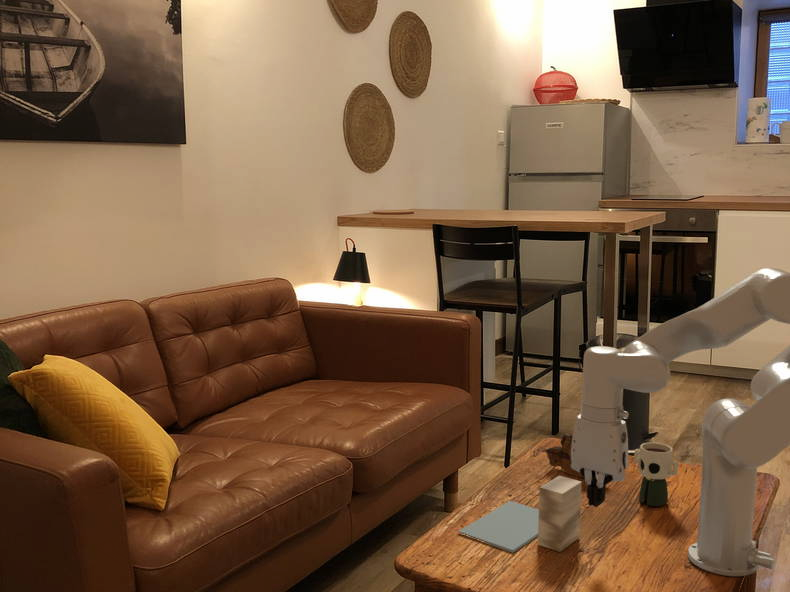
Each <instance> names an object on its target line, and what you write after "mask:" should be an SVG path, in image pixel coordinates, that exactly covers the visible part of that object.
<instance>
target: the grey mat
mask: <svg viewBox="0 0 790 592" xmlns="http://www.w3.org/2000/svg"><path fill="white" fill-rule="evenodd" d="M538 520H539V508H535V507H531V506H529V505H525V504H522V503H519V502H515V501H513V500H512V501H511V500H509V501H507V502H506V503H504V504H502V505H500V506H499V507H496V508H495V509H493V510H492V511H490V512H488V513H487V514H485V515H483V516H481V517H480V518H479V519H477V520H475V521H473V522H471V523H469V524H468V525H466V526H464V527H463V528H461V529H459V530H458V532H460V533H462V534H465V535H468V536H470V537H473V538H476V539H479V540H481V541H484V542H486V543H488V544H487V545H489V544H490V545H489V546H491V545H493V546H492V547H494V546H495V547H494V548H497V547H498V548H497V549H501V550H502V551H506V552H509V553H512V554H514V553H516V552H517V551H519V550H520V549H521V548H523V547H524V546H526V545H527V544H528V543H530V542H532V541H533V540H535V538H538ZM458 532H457V533H458ZM486 543H485V544H486Z"/></svg>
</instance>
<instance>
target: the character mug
mask: <svg viewBox="0 0 790 592" xmlns="http://www.w3.org/2000/svg"><path fill="white" fill-rule="evenodd" d="M673 455H674V449H673V447H671V446H670V445H668V444H665V443H661V442H644V443H642V444H640V446H639V449H638V448H637V449H636V448H635V450H634V456H633V458H634V462H635V464H637V469H638V472H639V473H640V475H641V476H642V479H641V484H640V488H639V494H638V501H639V502H641V503H642V504H644V503H645V501H646V505H648V506H652V507H661V506H662V507H663V506H664V505H666V504H667V503H668V502H669V492H668V483H667V480H666V479H669V478H670V477H672V476H674V477H677V474H678V473H679V472H678V470H679V469H678V468H679V463H678V462H677V461H675V460H674V459H673Z"/></svg>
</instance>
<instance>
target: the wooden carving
mask: <svg viewBox="0 0 790 592" xmlns="http://www.w3.org/2000/svg"><path fill="white" fill-rule="evenodd" d="M572 438H573V434H571V435H570V434H569V433H565V434H563V436H562V438H561V440H560V445H561V446H560V445H554V446H553V447H551V446H550V447H549V448H547V449H545V453H546V455H547V458H548V463H549V465H550V466H551V467H554V468H555V467H560V468H561V470H563V471H564V472H565V473H568V475H571V476H575V477H580V478H584V477H583V476H582V475H581V473H580V472H578V471H576V470H574V469H572V468H571V463H572V462H571V445H572ZM597 475H599V472H597Z"/></svg>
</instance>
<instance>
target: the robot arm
mask: <svg viewBox="0 0 790 592" xmlns="http://www.w3.org/2000/svg"><path fill="white" fill-rule="evenodd" d="M770 320H773V321H775V322H779V323H782V324H787V325H790V272H788V271H785V270H782V269H780V268H775V267H765V268H761V269H759V270H757V271H755V272H753V273H752V274H749V275H748V276H747V277H745V278H743V279H741V280H740V281H738V282H736V283H735V284H733V285H732V286H731V287H729V288H727V289H726V290H725V291H723V292H721V293H720V294H718V295H716V296H715V297H713V298H712V299H710V300H709V301H707V302H705V303H704V304H702V305H700V306H698V307H697V308H694V309H693V310H689V311H687V312H685V313H683V314H680V315H679V316H676V317H673V318H672V319H669V320H667V321H665V322H663V323H660V324H659V325H656V326H654V327H653V328H652V329H650V330H648V331H647V332H644V334H642V335H641V336H639V337H637V338H636V339H635V340H633V341H631V343H629V344H628V345H627V346H626V347H625V348H624V349H623V350H622V349H618V348H616V347H612V346H602V345H601V346H600V345H599V346H597V345H596V346H591V347H589V348H587V349H586V350H585V351H584V354H583V363H582V364H583V365H582V367H583V368H582V380H581V381H582V385H581V402H580V413H579V415H577V418H576V420H575V424H574V429H573V434H572V435H573V438H572V445H571V462H572V463H571V468H572V469H574V470H576V471H578V472H580V473H581V475H582V476H583V477H582V478H583V479H584V482H585V484H586V485H587V492H586V498H587V499H588V504H587V505H588V506H590V507H591V506H593V507H595V508H597V507H598V506H600V505H602V504H603V503H604V502H605V499H606V489H607V486H606V485H608V484H609V483H611V482H616V483H617V482H623V481H625V479H626V473H625V470H627V469H628V466H629V438H628V429H627V424H626V423H627V421H625V420H623V419H626V420H627V419H628V418H629V415H630V414H629V411H625V410H624V405H623V401H624V399H623V397H624V389H625V390H630V391H635V392H640V393H644V394H647V393H648V394H652V393H656V392H659V391H661V390H663V389H664V388H666V386H668V384H669V381H670V379H671V369H670V367H669V364H670V363H671V362H673V361H674V360H676V359H678V358H680V357H682V356H684V355H686V354H689V353H692V352H696V351H700V350H713V349H719V348H724V347H728V346H729V345H731V344H733V343H734V342H735V341H737V340H739V339H740V338H743V336H746V335H747V334H749V333H750V332H751V331H753V330H755V329H756V328H758V327H760V326H761V325H763V324H765V323H767V322H768V321H770ZM750 392H751V393H750V394H751V396H752V397H753V399H754V400H755V402H754V403H753V404H752V405H749V404H747V403H745V402H744V401H742V400H739V399H736V398H729V397H728V398H722V399H718V400H716V401H715V402H713V403H712V404H711V405H710V406H708V407H707V409H706V411H705V412H704V415H703V417H702V421H701V422H702V424H701V439H702V441H701V442H702V443H701V444H702V465H701V466H702V470H701V471H702V472H701V479H700V480H701V482H700V483H701V484H700V496H699V497H700V498H699V513H698V525H697V526H698V527H697V537H696V538H697V540H696V542H695V543H692V544H691V545H690V546H689V547H688V549H687V557H688V559H689V560H690V562H691V563H692V564H694V565H695V566H697V567H698V568H700V569H701V570H704V571H706V572H708V573H709V572H710V573H712V574H716V575H721V576H725V577H726V576H727V577H745V576H750V575H752V574H755V573H756V572H757V571H758V569H759V566H760V567H762V568H765V569H768V570H773V569H774V566H775V559H774V558H772V554H771V553H768V552H767V551H766V552H765V551H761V550H759V549H758V548H756V547H757V546H756V545H757V541H755V540H753V539H752V538H753V527H754V515H755V512H754V511H755V499H756V491H757V490H756V489H757V480H758V479H757V477H758V468H759V467H761V466H764V465H765V464H767V463H769V462H770V461H772V460H773V459H775V458H776V457H777V456H779V455H780V454H781V453H782V452H783V451H785V450H786V449H787V448H788V447H789V446H790V344H789V345H788V346H787V347H786V348H784V349H783V350H782V351H781V352H780V353H778V354H777V355H776V356H775V357H774V358H772V360H770V361H769V362H768V363H767V364H765V365H764V366H763V367H762V368H760V369H759V370H758V371H757V373H756V374H754V375H753V377H752V379H751V382H750ZM597 472H599V474H597Z"/></svg>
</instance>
